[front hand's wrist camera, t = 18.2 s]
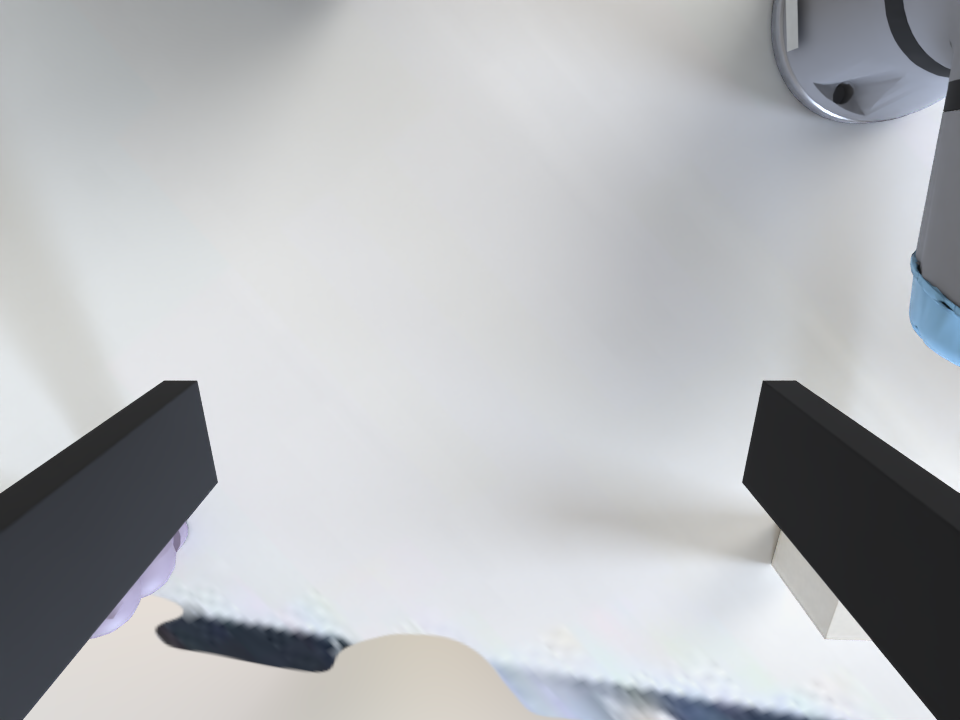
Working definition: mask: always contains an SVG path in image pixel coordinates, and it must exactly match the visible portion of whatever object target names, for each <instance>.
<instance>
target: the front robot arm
mask: <svg viewBox="0 0 960 720" xmlns="http://www.w3.org/2000/svg"><path fill="white" fill-rule="evenodd" d="M772 44H773V50H774V55H775V59H776V62H777V66H778V68H779V71H780V73H781V76H782V77H783V79H784V81H785V83H786V85H787V86H788V88H789V89H790V91H791V92H792V93H793V95H794V96H795V97H796V98H797V99H798V100H799V101H800V102H801V103H802V104H803V105H804V106H806V107H807V108H808V109H810V110H811V111H813V112H815V113H816V114H818V115H820V116H822V117H825V118H828V119H830V120H834V121H838V122H844V123H870V122H880V121H886V120H892V119H896V118H899V117H903V116H906V115H908V114H911V113H914V112H917V111H919V110H922V109H924V108H926V107H929V106H931V105H932V104H934V103H936V102H938V101H940V100H942V99H943V98H945V97H946V100H945V105H944V110H943V111H944V112H943V114H942V119H941V125H940V130H939V135H938V140H937V145H936V151H935V156H934V161H933V166H932V171H931V176H930V182H929V187H928V192H927V197H926V202H925V208H924V213H923V218H922V223H921V228H920V233H919V239H918V244H917V249H916V251H915V252H914V253H913V254H912V257H911V263H910V265H911V271H912V273H913V283H912V291H911V300H910V308H909V316H910V322H911V324H912V327H913V329H914V330H915V332H916V333H917V334H918V335H919V336H920V338H922V339H923V341H924V343H925V344H926V345H927V346H928V347H929V348H930V349H932V350H933V351H934V352H936V353H937V354H938V355H940V356H942V357H943V358H945V359H947V360H948V361H950V362H952V363H954V364H955V365H957V366H959V367H960V0H774V4H773V11H772ZM954 110H955V111H954ZM217 483H218V481H217V476H216V471H215V466H214V461H213V456H212V451H211V446H210V441H209V437H208V432H207V427H206V422H205V417H204V412H203V407H202V402H201V397H200V392H199V387H198V382H197V381H163V382H162V383H160V384H159V385H157V386H156V387H154V388H153V389H151V390H150V391H148V392H147V393H146V394H144V395H143V396H141V397H140V398H138V399H137V400H135V401H134V402H132V403H131V404H130V405H128V406H127V407H125V408H124V409H122V410H121V411H119V412H118V413H117V414H115V415H114V416H112V417H111V418H109V419H108V420H106V421H105V422H103V423H102V424H101V425H99V426H98V427H96V428H95V429H93V430H92V431H90V432H89V433H87V434H86V435H85V436H83V437H82V438H80V439H79V440H77V441H76V442H74V443H73V444H71V445H70V446H69V447H67V448H66V449H64V450H63V451H61V452H60V453H58V454H57V455H56V456H54V457H53V458H51V459H50V460H48V461H47V462H45V463H44V464H42V465H41V466H40V467H38V468H37V469H35V470H34V471H32V472H31V473H29V474H28V475H26V476H25V477H24V478H22V479H21V480H19V481H18V482H16V483H15V484H13V485H12V486H10V487H9V488H8V489H6V490H5V491H3V492H2V493H0V720H23V719H24V718H25V716H26V715H27V714H28V713H29V712H30V710H31V709H32V708H33V707H34V705H35V704H36V703H37V702H38V701H39V699H40V698H41V697H42V696H43V695H44V693H45V692H46V691H47V690H48V688H49V687H50V686H51V685H52V684H53V682H54V681H55V680H56V679H57V677H58V676H59V675H60V674H61V673H62V671H63V670H64V669H65V668H66V667H67V665H68V664H69V663H70V662H71V660H72V659H73V658H74V657H75V656H76V654H77V653H78V652H79V651H80V650H81V648H82V647H83V646H84V645H85V643H86V642H87V641H88V640H89V639H90V637H91V636H92V635H93V634H94V632H95V631H96V630H97V629H98V628H99V626H100V625H101V624H102V623H103V622H104V620H105V619H106V618H107V617H108V615H109V614H110V613H111V612H112V611H113V609H114V608H115V607H116V606H117V604H118V603H119V602H120V601H121V600H122V598H123V597H124V596H125V595H126V594H127V592H128V591H129V590H130V589H131V587H132V586H133V585H134V584H135V583H136V581H137V580H138V579H139V578H140V576H141V575H142V574H143V573H144V572H145V570H146V569H147V568H148V567H149V566H150V564H151V563H152V562H153V561H154V559H155V558H156V557H157V556H158V555H159V553H160V552H161V551H162V550H163V548H164V547H165V546H166V545H167V544H168V542H169V541H170V540H171V539H172V538H173V536H174V535H175V534H176V533H177V531H178V530H179V529H180V528H181V527H182V525H183V524H184V523H185V522H186V520H187V519H188V518H189V517H190V516H191V514H192V513H193V512H194V511H195V510H196V508H197V507H198V506H199V505H200V503H201V502H202V501H203V500H204V499H205V497H206V496H207V495H208V494H209V492H210V491H211V490H212V489H213V488H214V486H215V485H216V484H217ZM742 483H743V484H744V485H745V486H746V488H747V489H748V490H749V491H750V492H751V494H752V495H753V496H754V497H755V499H756V500H757V501H758V502H759V503H760V505H761V506H762V507H763V508H764V510H765V511H766V512H767V513H768V514H769V516H770V517H771V518H772V519H773V520H774V522H775V523H776V524H777V525H778V527H779V528H780V529H781V530H782V531H783V533H784V534H785V535H786V536H787V538H788V539H789V540H790V541H791V542H792V544H793V545H794V546H795V547H796V548H797V550H798V551H799V552H800V553H801V555H802V556H803V557H804V558H805V559H806V561H807V562H808V563H809V564H810V566H811V567H812V568H813V569H814V570H815V572H816V573H817V574H818V575H819V576H820V578H821V579H822V580H823V581H824V583H825V584H826V585H827V586H828V587H829V589H830V590H831V591H832V592H833V594H834V595H835V596H836V597H837V598H838V600H839V601H840V602H841V603H842V604H843V606H844V607H845V608H846V609H847V611H848V612H849V613H850V614H851V615H852V617H853V618H854V619H855V620H856V622H857V623H858V624H859V625H860V626H861V628H862V629H863V630H864V631H865V632H866V634H867V635H868V636H869V637H870V639H871V640H872V641H873V642H874V643H875V645H876V646H877V647H878V648H879V650H880V651H881V652H882V653H883V654H884V656H885V657H886V658H887V659H888V660H889V662H890V663H891V664H892V665H893V667H894V668H895V669H896V670H897V671H898V673H899V674H900V675H901V676H902V678H903V679H904V680H905V681H906V682H907V684H908V685H909V686H910V687H911V688H912V690H913V691H914V692H915V693H916V695H917V696H918V697H919V698H920V699H921V701H922V702H923V703H924V704H925V706H926V707H927V708H928V709H929V710H930V712H931V713H932V714H933V715H934V716H935V718H936V719H937V720H960V493H958V492H957V491H955V490H954V489H952V488H951V487H950V486H948V485H947V484H945V483H944V482H942V481H941V480H939V479H938V478H936V477H935V476H934V475H932V474H931V473H929V472H928V471H926V470H925V469H923V468H922V467H920V466H919V465H918V464H916V463H915V462H913V461H912V460H910V459H909V458H907V457H906V456H904V455H903V454H902V453H900V452H899V451H897V450H896V449H894V448H893V447H891V446H890V445H889V444H887V443H886V442H884V441H883V440H881V439H880V438H878V437H877V436H875V435H874V434H873V433H871V432H870V431H868V430H867V429H865V428H864V427H862V426H861V425H859V424H858V423H857V422H855V421H854V420H852V419H851V418H849V417H848V416H846V415H845V414H843V413H842V412H841V411H839V410H838V409H836V408H835V407H833V406H832V405H830V404H829V403H828V402H826V401H825V400H823V399H822V398H820V397H819V396H817V395H816V394H814V393H813V392H812V391H810V390H809V389H807V388H806V387H804V386H803V385H801V384H800V383H798V382H797V381H763V382H762V387H761V392H760V397H759V402H758V407H757V412H756V417H755V422H754V427H753V432H752V437H751V441H750V446H749V451H748V456H747V461H746V466H745V471H744V476H743V481H742Z"/></svg>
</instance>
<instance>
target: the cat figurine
mask: <svg viewBox="0 0 960 720" xmlns="http://www.w3.org/2000/svg"><path fill="white" fill-rule="evenodd" d="M187 536H188V526H187V523H186V522H185V523H184V524H183V525H182V527H181V528H180V529H179V530H178V531H177V533H176V534H175V535H174V536H173V538H172V539H171V540H170V541H169V542H168V544H167V545H166V546H165V547H164V548H163V550H162V551H161V552H160V553H159V555H158V556H157V557H156V558H155V559H154V561H153V562H152V563H151V564H150V566H149V567H148V568H147V569H146V570H145V572H144V573H143V574H142V575H141V576H140V578H139V579H138V580H137V581H136V583H135V584H134V585H133V586H132V587H131V589H130V590H129V591H128V592H127V594H126V595H125V596H124V597H123V598H122V600H121V601H120V602H119V603H118V604H117V606H116V607H115V608H114V609H113V611H112V612H111V613H110V614H109V615H108V617H107V618H106V619H105V620H104V622H103V623H102V624H101V625H100V626H99V628H98V629H97V630H96V631H95V632H94V634H93V635H92V636H91V637H90V639H91V638H96V637H100V636H103V635H106V634H109V633H111V632H113V631H115V630H116V629H118V628H119V627H120V626H121V625H123V624H124V623H125V622H127V621H128V620H129V619H130V618H131V617H132V615H133V614H134V612H135V610H136V608H137V606H138V605H139V602H140V599H141V598H143V597H146V596H148V595H151V594H152V593H153V592H155V591H156V590H158V589H159V588H160V587H161V586H163V585H164V584H165V583H166V582H167V580H168V579H169V577H170V575H171V573H172V571H173V570H174V567H175V559H176V552H177V551H178V550H179V548H180V547H181V546H182V545H183V543H184V542H185V540H186V538H187Z"/></svg>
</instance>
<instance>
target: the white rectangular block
mask: <svg viewBox="0 0 960 720" xmlns="http://www.w3.org/2000/svg"><path fill="white" fill-rule="evenodd" d="M771 565H772V566H773V568H774V569H775V571H776V572H777V573H778V575H779V576H780V578H781V579H782V580H783V582H784V583H785V585H786V586H787V587H788V589H789V590H790V592H791V593H792V594H793V596H794V597H795V599H796V600H797V601H798V603H799V604H800V605H801V607H802V608H803V610H804V611H805V612H806V614H807V615H808V617H809V618H810V619H811V621H812V622H813V624H814V625H815V626H816V628H817V629H818V631H819V632H820V633H821V635H822V636H823V638H824V639H827V640H860V641H872V640H871V639H870V637H869V636H868V635H867V634H866V632H865V631H864V630H863V629H862V628H861V626H860V625H859V624H858V623H857V622H856V620H855V619H854V618H853V617H852V615H851V614H850V613H849V612H848V611H847V609H846V608H845V607H844V606H843V604H842V603H841V602H840V601H839V600H838V598H837V597H836V596H835V595H834V594H833V592H832V591H831V590H830V589H829V587H828V586H827V585H826V584H825V583H824V581H823V580H822V579H821V578H820V576H819V575H818V574H817V573H816V572H815V570H814V569H813V568H812V567H811V566H810V564H809V563H808V562H807V561H806V559H805V558H804V557H803V556H802V555H801V553H800V552H799V551H798V550H797V548H796V547H795V546H794V545H793V544H792V542H791V541H790V540H789V539H788V538H787V536H786V535H785V534H784V533H783V531H782V530H781V532H780V535H779V539H778V542H777V546H776V549H775V553H774V556H773V560H772V563H771Z"/></svg>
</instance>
